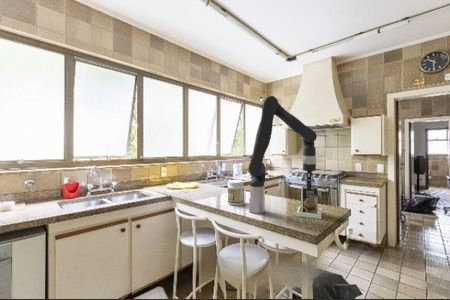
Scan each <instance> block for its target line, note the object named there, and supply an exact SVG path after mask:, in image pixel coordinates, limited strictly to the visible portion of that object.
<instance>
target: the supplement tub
mask: <svg viewBox="0 0 450 300" xmlns="http://www.w3.org/2000/svg"><path fill="white" fill-rule="evenodd" d="M227 203H228V204H229V205H230V206H234V205H238V206H241V205H244V204H245V185H244V181H243V180H240V179H235V180H234V179H232V180H229V181H228V185H227Z"/></svg>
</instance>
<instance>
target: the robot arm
mask: <svg viewBox="0 0 450 300" xmlns="http://www.w3.org/2000/svg"><path fill="white" fill-rule="evenodd" d="M275 116H276V117H277V118H279V119H280V120H281V121H282V122H283V123H284V124H285V125H286V126H287V127H289V128H290V129H291V130H292V131H293V132H295V133H296V134H299V136H301V138H302V143H303V159H302V170H303V171H305V172H306V173H305V181H306V187H307V190H311V187H312V182H313V177H314V173H313V172H315V171H317V157H316V152H317V151H316V150H317V149H316V147H315V141H316V140H317V137H318V136H317V133H316V132H315V131H314V130H313V129H312V128H310V127H308V126H307V125H306V124H304V123H303V122H302V121H301V120H300V119H298V117H296V116H295V115H294V114H292V113H290V112H289V111H288V110H286V109H285V108H284V107H283V106H282V105H281V104H280V103H279V100H278V98H276V96H273V95H268V96H267V97H265V98H264V100H263V102H262V112H261V118H260V121H259V125H258V128H257V131H256V134H255V140H254V146H253V152H252V155H251V158H250V162H249V164H248V173H249V174H250V176H251V179H250V182H249V192H250V193H249V194H250V196H249V198H248V200H249V201H248V202H249V203H248V204H249V213H252V214H256V215H257V214H264V213H265V209H266V208H265V207H266V206H265V203H266V202H265V182H266V166H265V163H264V162H263V160H264V157H265V154H266V152H267V149H268V147H269V146H270V143H271V138H272V133H273V123H274V117H275Z"/></svg>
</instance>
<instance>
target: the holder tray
mask: <svg viewBox="0 0 450 300" xmlns="http://www.w3.org/2000/svg"><path fill="white" fill-rule="evenodd" d="M322 210H323V209H322V208H320V207H318V214H312V213H302V212H301V206H298V208H297V211H296V218H297V217H298V218H306V219H315V220H322V215H323V214H322Z"/></svg>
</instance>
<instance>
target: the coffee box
mask: <svg viewBox="0 0 450 300" xmlns="http://www.w3.org/2000/svg"><path fill="white" fill-rule="evenodd" d="M300 189H301V190H300V191H301V192H300V193H301V194H300V195H301V196H300V198H301V202H300V207H301V212H302V213H312V214H318V208H319V207H318V203H319V202H318V201H319V199H318V198H319V197H318V195H319V194H318V191H319V189H318V188H316V187H312V186H311V190H307V186H301V187H300Z"/></svg>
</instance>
